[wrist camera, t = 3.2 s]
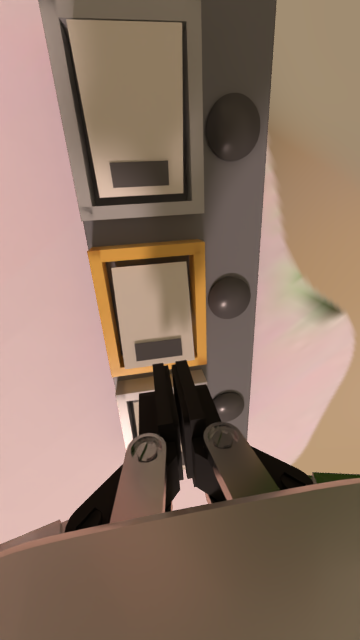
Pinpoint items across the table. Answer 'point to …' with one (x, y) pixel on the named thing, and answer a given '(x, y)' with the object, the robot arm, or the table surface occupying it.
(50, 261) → the table surface
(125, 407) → the rocker switch panel
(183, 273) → the rocker middle
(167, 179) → the rocker
